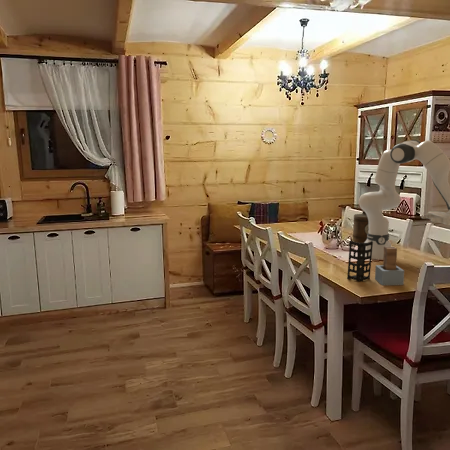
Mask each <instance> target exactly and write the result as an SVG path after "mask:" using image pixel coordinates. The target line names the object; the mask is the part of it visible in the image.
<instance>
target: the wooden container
mask: <svg viewBox="0 0 450 450" xmlns="http://www.w3.org/2000/svg"><path fill="white" fill-rule="evenodd" d="M368 233H369V221H368V217H367V214H366V213H365V211H364V210H362V213H356V214H354V215H353V227H352V241H353V240H354V241H353V242H357V243H364V242H365V241H366V240H367V235H368Z"/></svg>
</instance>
